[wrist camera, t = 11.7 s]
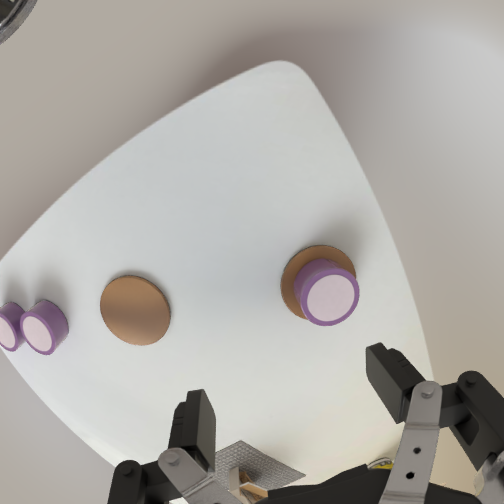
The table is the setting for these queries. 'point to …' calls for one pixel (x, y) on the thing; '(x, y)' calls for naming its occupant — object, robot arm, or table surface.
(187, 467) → the robot arm
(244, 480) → the architectural model
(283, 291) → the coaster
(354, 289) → the purple short cylinder
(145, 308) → the brown wooden coaster
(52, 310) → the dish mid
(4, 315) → the purple rimmed puck
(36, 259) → the table surface
